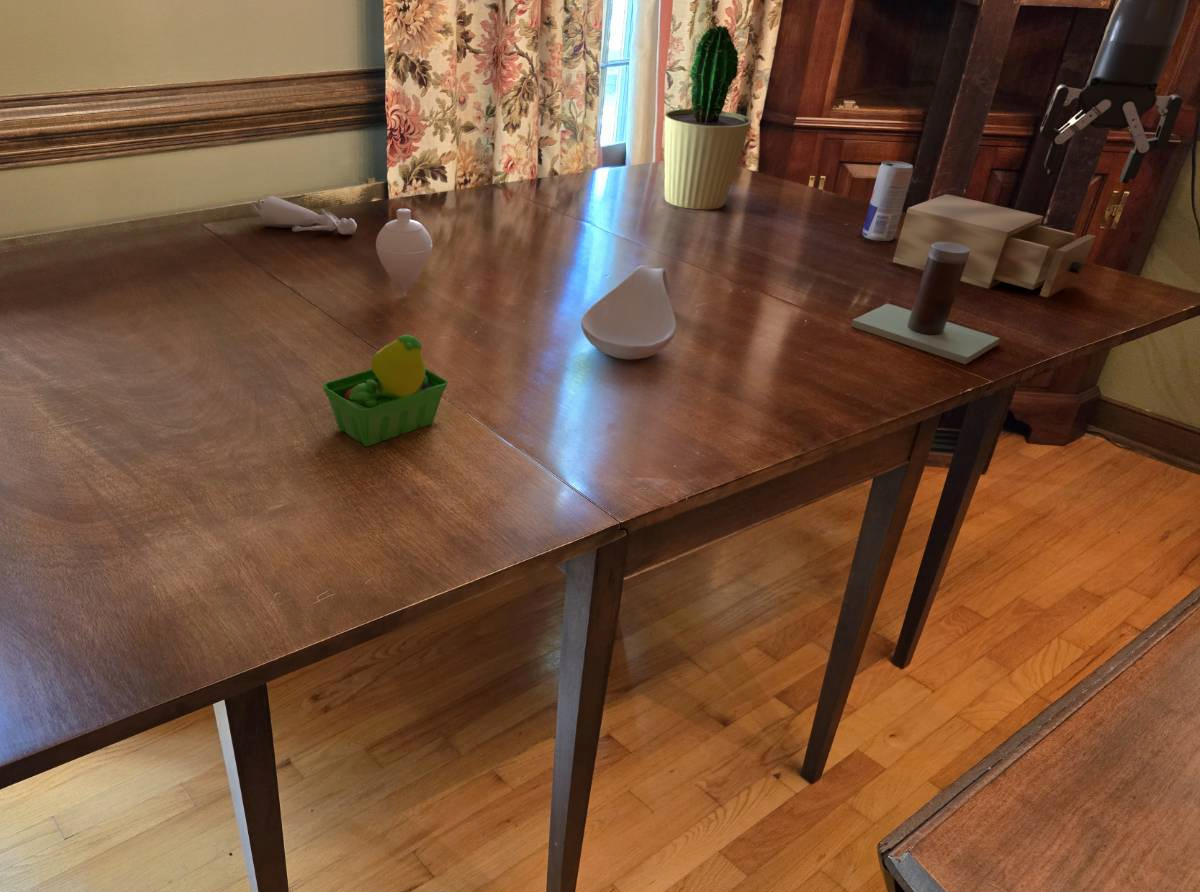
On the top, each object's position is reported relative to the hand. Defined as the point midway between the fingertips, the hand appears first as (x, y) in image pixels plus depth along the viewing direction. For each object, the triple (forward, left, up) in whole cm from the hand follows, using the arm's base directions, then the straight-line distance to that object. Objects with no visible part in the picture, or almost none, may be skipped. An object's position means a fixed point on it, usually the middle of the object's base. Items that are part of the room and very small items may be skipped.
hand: (1086, 177), depth 125 cm
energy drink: (+33, -19, -20) cm, 43 cm away
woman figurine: (+95, +57, -20) cm, 113 cm away
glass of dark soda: (+7, +18, -19) cm, 27 cm away
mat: (+7, +18, -20) cm, 28 cm away
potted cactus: (+66, -11, -20) cm, 70 cm away
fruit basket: (+32, +90, -20) cm, 98 cm away
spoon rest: (+32, +49, -20) cm, 62 cm away
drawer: (+8, -15, -19) cm, 25 cm away
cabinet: (+17, -15, -20) cm, 30 cm away
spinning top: (+61, +64, -20) cm, 91 cm away
